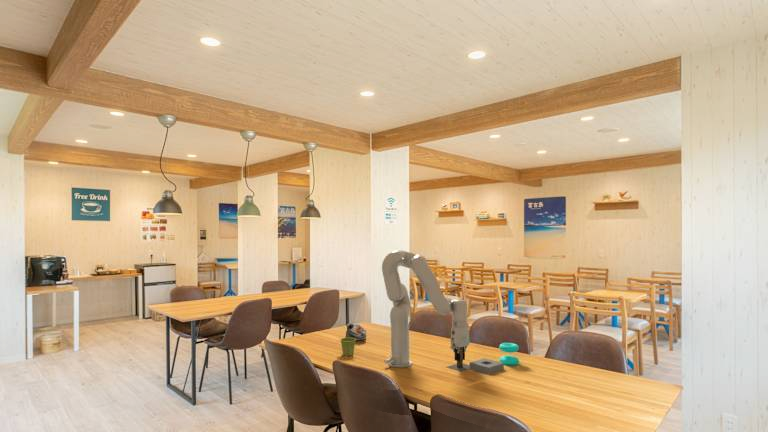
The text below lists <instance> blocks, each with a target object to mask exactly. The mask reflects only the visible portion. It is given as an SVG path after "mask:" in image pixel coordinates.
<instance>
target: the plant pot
mask: <svg viewBox="0 0 768 432" xmlns="http://www.w3.org/2000/svg"><path fill="white" fill-rule="evenodd" d="M339 340H340V343H341V349H342V355H343V356H345V357H350V356H353V355H354V353H355V345H356V341H357V340H356V339H355V338H346V337H342V338H340V339H339Z"/></svg>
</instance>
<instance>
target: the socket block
mask: <svg viewBox="0 0 768 432" xmlns="http://www.w3.org/2000/svg"><path fill="white" fill-rule="evenodd" d="M469 365H470V369H469V370H472V371H475V372H479V373H483V374H487V375H491V374H495V373H497V372H500V371H504V370H505V365H504V363H501V362H500V361H498V360H492V359H488V358H481V359H477V360H474V361H470V362H469Z"/></svg>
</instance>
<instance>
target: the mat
mask: <svg viewBox="0 0 768 432" xmlns="http://www.w3.org/2000/svg"><path fill="white" fill-rule="evenodd" d="M445 368H447V369H450V370H454V371H458V372H460V373H461V372H463V371H464V372H465V371H467V370H471V369H470V364H467V363H463V367H457V363H456V364H452V365H449V366H445Z"/></svg>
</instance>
